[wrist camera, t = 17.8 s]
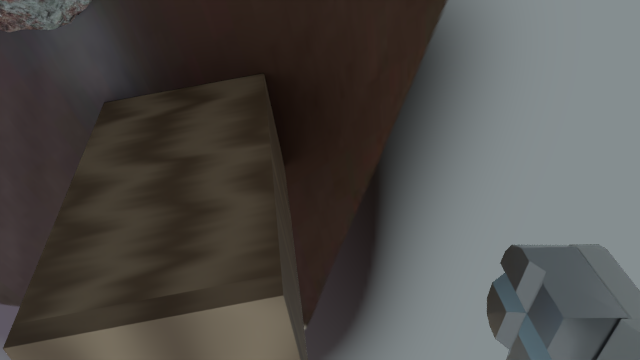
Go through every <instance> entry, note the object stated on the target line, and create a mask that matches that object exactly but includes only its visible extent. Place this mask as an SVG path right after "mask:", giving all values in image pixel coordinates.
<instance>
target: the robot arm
mask: <svg viewBox="0 0 640 360" xmlns="http://www.w3.org/2000/svg"><path fill="white" fill-rule="evenodd" d="M501 265H502V267H503V269H504V271H505V273H504V274H503V275H501V276H500V277H499V278H498V279H496V280H495V281H494V282H493V283H492V285H491V288H490V291H489V294H488V297H487V316H488V320H489V324H490V328H491V330H492V332H493V334H494V337H495V339H497V340H498V341H499V342H500V343H502V344H503V345H504V346H505V347H507V348H508V349H509V352H508V356H507V359H506V360H640V291H639V289H638V288H637V287H636V286H635V284H634V283H633V282H632V281H631V279H630V278H629V277H628V275H627V274H626V273H625V272H624V270H623V269H622V268H621V267H620V265H619V264H618V263H617V261H616V260H615V259H614V258H613V256H612V255H611V254H610V253H609V251H608V250H607V249H605V248H604V247H602V246H600V245H598V244H593V245H592V244H590V245H588V244H586V245H511V246H510V247H509V248H508V249H507V250H506V251H505V253H504V255H503V258H502V260H501Z"/></svg>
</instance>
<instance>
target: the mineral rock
mask: <svg viewBox="0 0 640 360" xmlns="http://www.w3.org/2000/svg"><path fill="white" fill-rule="evenodd" d="M91 1H92V0H0V30H2V31H6V32H13V31H17V30H23V29H29V30H31V29H35V30H37V29H39V30H46V29H47V30H51V29H55V28H59V27H60V26H64V25H67V24H69V23H71V22H72V21H73V19H74V18H75V16H76V15H79V13H81V12H82V11H83V10H84V9H86V8H87V6H88V5H89V4H90V2H91Z"/></svg>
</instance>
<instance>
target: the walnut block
mask: <svg viewBox="0 0 640 360" xmlns="http://www.w3.org/2000/svg"><path fill="white" fill-rule="evenodd" d="M3 349H4V351H5V352H6V353H7V355H8V356H9V357H10V358H11V360H308V359H307V351H306V343H305V334H304V325H303V317H302V308H301V300H300V292H299V283H298V275H297V267H296V258H295V250H294V242H293V233H292V225H291V217H290V208H289V200H288V192H287V183H286V175H285V167H284V162H283V158H282V153H281V149H280V144H279V139H278V135H277V130H276V126H275V121H274V117H273V112H272V108H271V103H270V99H269V94H268V90H267V85H266V80H265V76H264V73H263V74H257V75H252V76H246V77H241V78H236V79H230V80H225V81H219V82H214V83H209V84H203V85H198V86H192V87H187V88H181V89H176V90H171V91H165V92H160V93H154V94H149V95H144V96H138V97H133V98H127V99H122V100H116V101H111V102H106V103H104V105H103V107H102V110H101V112H100V114H99V117H98V119H97V122H96V124H95V126H94V129H93V131H92V134H91V136H90V139H89V141H88V143H87V146H86V148H85V151H84V153H83V156H82V158H81V160H80V163H79V165H78V168H77V170H76V173H75V175H74V177H73V180H72V182H71V185H70V187H69V190H68V192H67V194H66V197H65V199H64V202H63V204H62V207H61V209H60V211H59V214H58V216H57V219H56V221H55V224H54V226H53V228H52V231H51V233H50V236H49V238H48V240H47V243H46V245H45V248H44V250H43V253H42V255H41V257H40V260H39V262H38V265H37V267H36V270H35V272H34V274H33V277H32V279H31V282H30V284H29V287H28V289H27V291H26V294H25V296H24V299H23V301H22V304H21V306H20V308H19V311H18V313H17V316H16V318H15V321H14V323H13V325H12V328H11V330H10V333H9V335H8V338H7V340H6V343H5V345H4V347H3Z"/></svg>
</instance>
